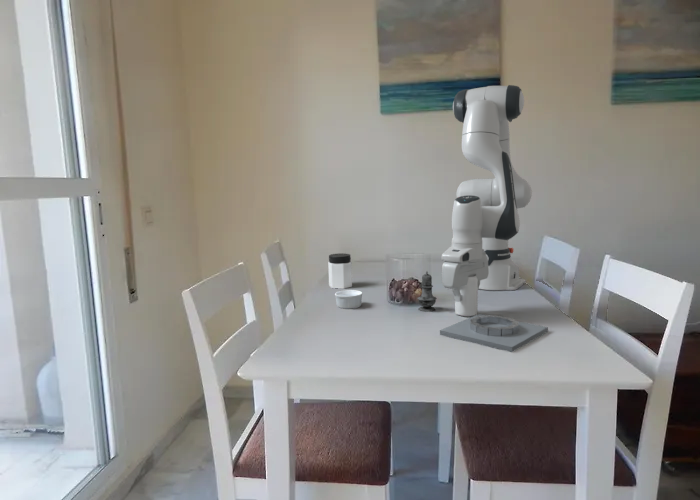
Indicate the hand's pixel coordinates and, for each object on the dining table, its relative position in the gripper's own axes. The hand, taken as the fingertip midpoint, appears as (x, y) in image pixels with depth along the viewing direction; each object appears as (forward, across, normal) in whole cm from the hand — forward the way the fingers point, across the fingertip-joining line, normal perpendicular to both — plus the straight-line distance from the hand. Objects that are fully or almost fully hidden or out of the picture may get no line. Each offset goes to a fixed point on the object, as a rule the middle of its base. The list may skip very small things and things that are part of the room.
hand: (466, 298), depth 149 cm
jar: (+5, -3, -56) cm, 56 cm away
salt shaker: (+5, +3, -12) cm, 13 cm away
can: (+5, 0, 0) cm, 5 cm away
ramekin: (+5, +15, -34) cm, 38 cm away
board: (+5, +11, +15) cm, 19 cm away
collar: (+4, +11, +15) cm, 19 cm away
